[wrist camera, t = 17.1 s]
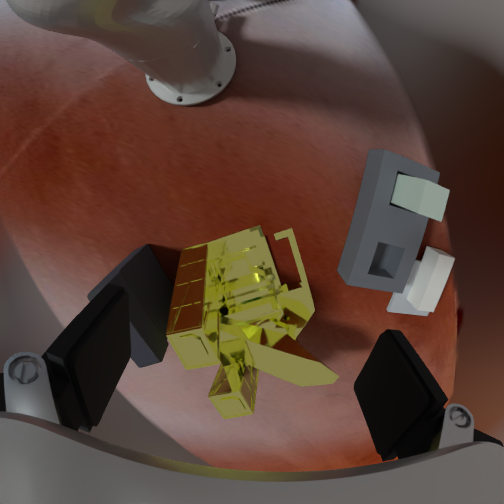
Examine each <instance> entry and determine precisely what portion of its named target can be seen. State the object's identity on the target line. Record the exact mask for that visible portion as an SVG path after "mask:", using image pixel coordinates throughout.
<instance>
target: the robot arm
mask: <svg viewBox="0 0 504 504" xmlns="http://www.w3.org/2000/svg"><path fill="white" fill-rule="evenodd" d="M6 1H7V3H8V5H9V7H10V8H11V10H12V11H13V12H14V13H15V14H16V15H17V16H18V17H20V18H21V19H23V20H24V21H26V22H27V23H30V24H32V25H34V26H37V27H39V28H42V29H45V30H48V31H53V32H57V33H62V34H67V35H73V36H79V37H84V38H87V39H90V40H93V41H96V42H98V43H100V44H102V45H103V46H105V47H107V48H109V49H110V50H112V51H113V52H115V53H116V54H118V55H119V56H121V57H122V58H124V59H125V60H127V61H128V62H130V63H131V64H133V65H134V66H135V67H137V68H138V69H140V70H141V71H142V72H144V73H145V75H146V80H147V84H148V86H149V87H150V89H151V91H152V92H153V93H154V94H155V95H156V96H157V97H159V98H160V99H161V100H163V101H165V102H167V103H170V104H173V105H179V106H191V105H196V104H200V103H203V102H206V101H208V100H210V99H212V98H214V97H215V96H217V95H218V94H219V93H220V92H222V91H223V90H224V89H225V87H226V86H227V85H228V84H229V82H230V81H231V79H232V77H233V75H234V72H235V68H236V54H235V50H234V48H233V45H232V43H231V42H230V41H229V39H228V38H227V37H226V36H225V35H223V34H222V33H221V32H219V31H217V28H216V23H215V20H214V18H215V16H216V14H217V11H218V8H219V5H217V4H215V3H210V2H209V0H6ZM227 50H230V51H229V52H227ZM153 79H154V81H152V80H153ZM219 84H221V87H218V85H219ZM180 99H183V100H182V101H181V102H180ZM130 356H131V338H130V318H129V293H128V292H126V291H125V289H124V287H123V286H119V285H115V284H111V283H108V284H107V285H106V286H105V287H104V288H103V289H102V290H101V291H100V292H99V293H98V294H97V295H96V296H95V297H94V298H93V299H92V300H91V301H90V303H89V304H88V305H87V306H86V307H85V308H84V309H83V310H82V311H81V312H80V313H79V314H78V315H77V316H76V317H75V318H74V319H73V320H72V321H71V323H70V324H69V325H68V326H67V327H66V328H65V329H64V331H63V332H62V333H61V334H60V335H59V336H58V337H57V339H56V340H55V341H54V342H53V343H52V345H51V346H50V347H49V348H48V349H47V351H46V352H45V353H44V354H43V355H42V357H40V356H39V355H37V354H35V353H31V352H21V353H17V354H15V355H13V356H12V357H11V358H10V359H9V360H8V361H7V362H6V364H5V366H4V373H0V504H504V448H503V447H504V446H503V444H502V442H501V441H500V440H497V439H495V438H493V437H491V436H489V435H487V434H485V433H483V432H481V431H478V430H476V429H474V419H473V416H472V414H471V413H470V412H469V410H468V409H467V408H465V407H464V406H462V405H459V404H450V405H449V406H447V407H446V409H444V407H443V406H444V405H445V403H446V402H447V401H448V398H447V397H446V395H445V393H444V392H443V390H442V389H441V387H440V386H439V384H438V383H437V381H436V380H435V378H434V377H433V375H432V374H431V372H430V371H429V370H428V368H427V367H426V365H425V364H424V362H423V361H422V359H421V358H420V357H419V355H418V354H417V352H416V351H415V350H414V348H413V347H412V345H411V344H410V343H409V341H408V340H407V339H406V337H405V336H404V335H403V333H402V332H401V331H400V330H390V329H387V330H385V331H384V333H382V334H380V336H379V338H378V340H377V342H376V344H375V346H374V348H373V350H372V352H371V354H370V356H369V358H368V359H367V361H366V363H365V365H364V367H363V369H362V370H361V372H360V374H359V376H358V377H357V379H356V381H355V383H354V391H355V394H356V396H357V399H358V401H359V404H360V407H361V409H362V412H363V415H364V417H365V420H366V423H367V426H368V428H369V431H370V434H371V437H372V439H373V442H374V445H375V448H376V451H377V453H378V454H380V455H381V458H382V461H387V460H392V459H395V458H396V457H397V456H398V460H394V461H389V462H384V463H379V464H373V465H367V466H360V467H353V468H345V469H336V470H324V471H307V472H263V471H246V470H234V469H224V468H216V467H208V466H202V465H196V464H189V463H184V462H179V461H174V460H170V459H165V458H161V457H157V456H152V455H149V454H145V453H141V452H138V451H134V450H131V449H127V448H124V447H121V446H118V445H115V444H111V443H108V442H106V441H103V440H100V439H97V438H95V437H92V436H89V435H86V434H84V433H81V432H78V429H79V428H80V429H82V430H84V431H87V432H90V431H91V429H92V426H97V425H98V424H99V422H100V420H101V418H102V415H103V413H104V411H105V409H106V407H107V405H108V402H109V400H110V398H111V396H112V394H113V392H114V389H115V388H116V386H117V384H118V382H119V379H120V377H121V375H122V373H123V371H124V369H125V367H126V365H127V363H128V361H129V359H130Z"/></svg>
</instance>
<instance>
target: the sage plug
mask: <svg viewBox="0 0 504 504" xmlns="http://www.w3.org/2000/svg"><path fill="white" fill-rule="evenodd" d="M448 194H449V190H448V189H446V188H444V187H441V186H440V185H437V184H435V183H433V182H431V181H428V180H425V179H421V178H416V177H411V176H406V175H401V174H397V175H396V180H395V184H394V188H393V192H392V196H391V200H390V202H391V203H394V204H396V205H399V206H401V207H404V208H406V209H409V210H411V211H413V212H416V213H418V214H421V215H424V216H427V217H429V218H432V219H435V220H438V221H440V222H442V218H443V214H444V211H445V207H446V203H447V199H448Z"/></svg>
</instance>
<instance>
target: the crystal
mask: <svg viewBox="0 0 504 504" xmlns="http://www.w3.org/2000/svg"><path fill="white" fill-rule="evenodd" d="M274 236H275V239H276V240H279V239H282V238H285V237H288V238H289V242H290V245H291V248H292V251H293V255H294V258H295V261H296V265H297V268H298V271H299V275H300V278H301V282H298V283H295V284H292V285H289V286H287V284H283V285H281V283H280V280H279V277H278V274H277V271H276V268H275V265H274V262H273V259H272V256H271V253H270V250H269V248H268V245H267V242H266V239H265V236H264V235H263V233H262V230H261V227H260V225H259V226H256V227H253V228H250V229H249V228H247V229H244V230H241V231H238V232H235V233H232V234H229V235H226V236H223V237H220V238H217V239H215V240H212V241H209V242H206V243H202V244H199V245H196V246H191V247H188V248H186V249H183V250H182V251H181V256H180V261H179V265H178V270H177V275H176V280H175V286H174V291H173V296H172V302H171V307H170V313H169V319H168V325H167V331H166V336H167V338H168V340H169V342H170V343H171V345H172V347H173V349H174V351H175V352H176V354H177V356H178V357H179V359H180V361H181V363H182V364H183V366H184V368H185V369H186V370H190V369H196V368H202V367H208V366H213V365H218V364H220V361H221V365H220V367H219V370H218V372H217V375H216V377H215V380H214V382H213V385H212V387H211V390H210V392H209V395H208V398H209V399H210V401H211V402H212V403H213V405H214V406H215V408H216V409H217V410H218V412H219V413H220V414H221V416H222V417H223V418H224V419H228V418H235V417H240V416H246V415H251V414H253V413H254V407H255V399H256V391H257V382H258V374H259V370H261V371H264V372H266V373H268V374H271V375H273V376H276V377H278V378H281V379H283V380H286V381H288V382H291V383H293V384H296V385H298V386H313V385H324V384H333V383H334V382H335V381H336V379H337V378H338V377H339V376H338V375H337V374H336V373H335V372H334V371H332V370H331V369H330V368H329V367H328V366H327V365H325V364H324V363H323V362H322V361H321V360H320V359H318V358H317V357H316V356H314V355H313V354H312V353H311V352H309V351H308V350H307V349H306V348H304V347H303V346H302V345H300V343H299V342H298V340H297V339H296V337H297V336H298V334H299V333H300V332H301V330H302V329H303V327H304V326H305V325H306V323H307V322H308V320H309V319H310V317H311V316H312V314H313V313H314V311H315V308H314V303H313V299H312V296H311V292H310V289H309V285H308V281H307V278H306V274H305V271H304V267H303V264H302V260H301V257H300V254H299V250H298V247H297V243H296V240H295V237H294V234H293V230H292V228H291V229H288V230H285V231H282V232H279V233H276V234H274Z"/></svg>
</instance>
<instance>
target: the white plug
mask: <svg viewBox="0 0 504 504" xmlns="http://www.w3.org/2000/svg"><path fill="white" fill-rule="evenodd" d="M454 260H455V258H454V257H452V256H451V255H449V254H447V253H446V252H444V251H442V250H440V249H436V248H432V247H429V246H426V249H425V252H424V255H423V258H422V261H421V264H420V267H419V269H418V272H417V275H416V277H415V280H414V283H413V285H412V288H411V290H410V293H409V295H408V297H407V300H408V301H409V302H410V303H411V304H412V305H413V306H414V307H415V308H416V309H417V310H419V311H429V312H433V311H434V309H435V307H436V305H437V303H438V300H439V298H440V296H441V293H442V291H443V289H444V286H445V284H446V281H447V279H448V276H449V274H450V271H451V268H452V265H453V263H454Z"/></svg>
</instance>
